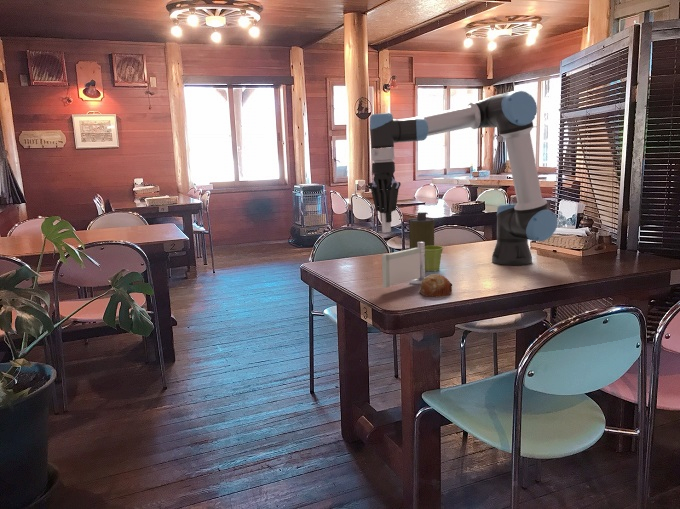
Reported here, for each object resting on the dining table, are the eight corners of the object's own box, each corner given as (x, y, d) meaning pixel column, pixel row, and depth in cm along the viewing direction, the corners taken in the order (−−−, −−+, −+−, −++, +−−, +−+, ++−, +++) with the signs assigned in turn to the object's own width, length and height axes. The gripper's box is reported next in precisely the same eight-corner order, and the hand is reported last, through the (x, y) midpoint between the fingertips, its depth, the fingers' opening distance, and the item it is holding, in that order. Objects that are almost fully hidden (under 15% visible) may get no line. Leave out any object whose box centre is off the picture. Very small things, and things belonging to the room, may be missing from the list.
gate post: (433, 281, 193) (432, 241, 190) (425, 285, 188) (425, 244, 185) (417, 279, 196) (417, 240, 194) (409, 283, 191) (409, 243, 189)
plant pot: (428, 273, 205) (428, 250, 204) (413, 269, 213) (413, 247, 212) (448, 270, 209) (448, 247, 208) (433, 266, 218) (433, 244, 216)
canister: (434, 258, 233) (433, 211, 230) (435, 263, 223) (435, 213, 220) (408, 259, 235) (407, 211, 231) (408, 264, 224) (407, 214, 221)
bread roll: (422, 301, 182) (411, 280, 181) (450, 286, 182) (439, 265, 181) (429, 309, 172) (418, 287, 171) (459, 293, 172) (448, 271, 171)
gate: (416, 277, 191) (416, 246, 189) (420, 278, 190) (420, 247, 188) (382, 286, 180) (381, 254, 178) (386, 287, 178) (385, 255, 177)
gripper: (361, 162, 187) (365, 232, 191) (389, 161, 177) (392, 234, 182) (377, 161, 192) (381, 229, 196) (405, 160, 182) (408, 231, 186)
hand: (386, 231), depth 189 cm, fingers closed
